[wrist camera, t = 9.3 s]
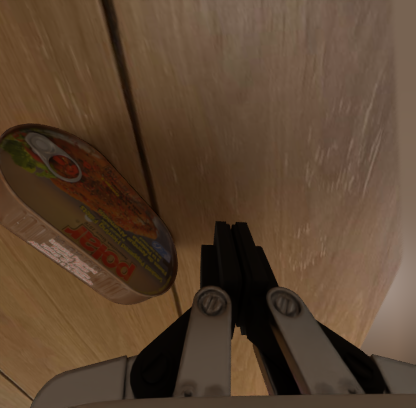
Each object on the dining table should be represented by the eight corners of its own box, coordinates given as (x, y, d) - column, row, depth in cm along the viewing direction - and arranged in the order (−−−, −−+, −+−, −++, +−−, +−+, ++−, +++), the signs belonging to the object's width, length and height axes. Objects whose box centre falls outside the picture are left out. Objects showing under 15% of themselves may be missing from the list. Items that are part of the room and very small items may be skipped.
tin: (182, 243, 21) (175, 317, 14) (160, 255, 22) (141, 333, 14) (70, 117, 15) (-55, 124, 8) (44, 140, 16) (-97, 167, 8)
